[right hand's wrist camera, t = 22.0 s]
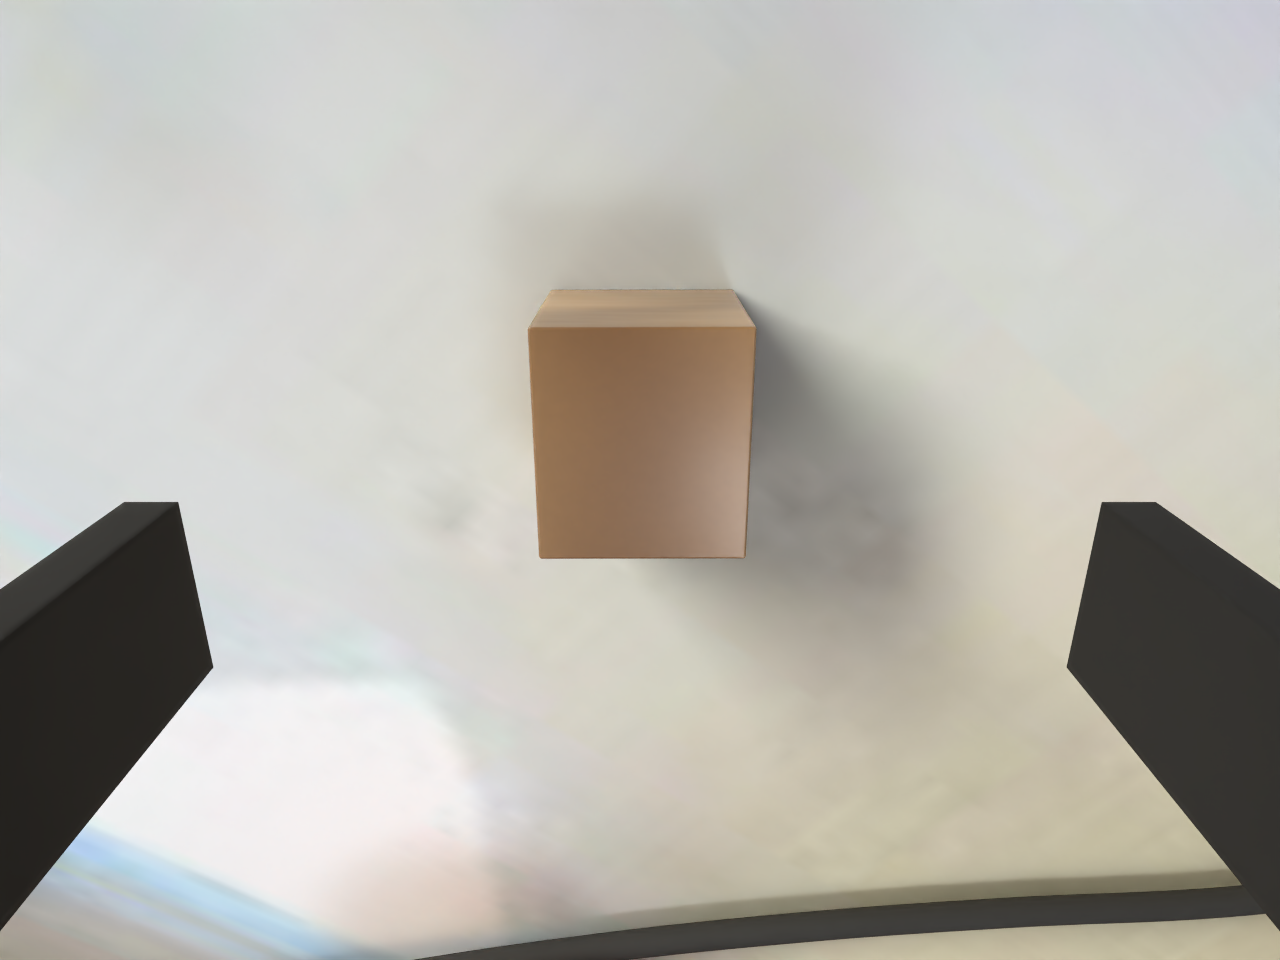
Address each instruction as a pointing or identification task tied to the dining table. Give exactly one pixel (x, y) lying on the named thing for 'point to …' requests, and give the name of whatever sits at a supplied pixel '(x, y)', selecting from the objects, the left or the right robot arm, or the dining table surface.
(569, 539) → the cardboard box
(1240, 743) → the right robot arm
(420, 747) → the dining table surface
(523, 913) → the dining table surface
